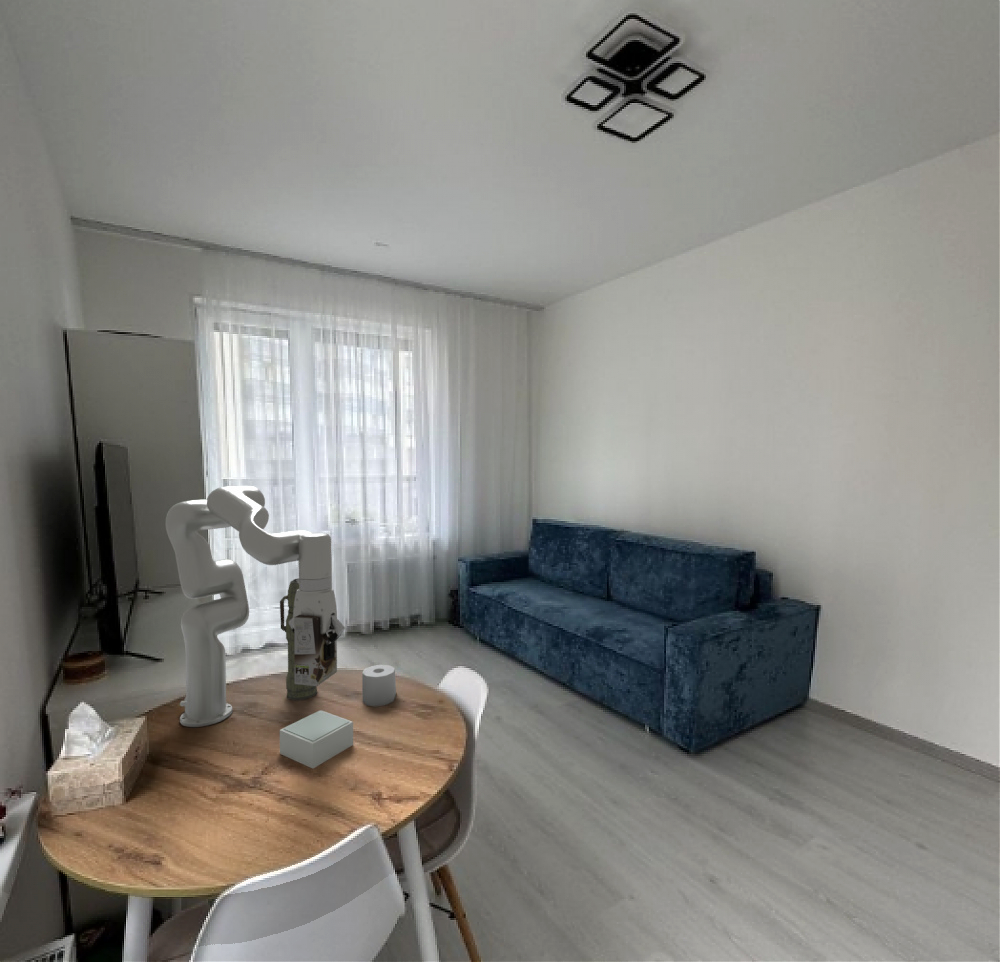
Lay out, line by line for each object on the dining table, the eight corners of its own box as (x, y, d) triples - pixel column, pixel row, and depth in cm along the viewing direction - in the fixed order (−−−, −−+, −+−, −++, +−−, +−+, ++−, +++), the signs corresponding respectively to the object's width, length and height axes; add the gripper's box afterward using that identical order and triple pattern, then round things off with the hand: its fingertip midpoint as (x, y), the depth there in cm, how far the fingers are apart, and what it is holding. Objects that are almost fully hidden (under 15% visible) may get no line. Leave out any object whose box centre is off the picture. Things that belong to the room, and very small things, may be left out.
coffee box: (318, 686, 119) (317, 618, 119) (293, 684, 121) (292, 616, 120) (338, 671, 128) (337, 607, 128) (315, 670, 130) (314, 606, 129)
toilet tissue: (397, 686, 161) (397, 659, 161) (392, 706, 148) (391, 676, 148) (368, 687, 160) (368, 660, 160) (360, 707, 147) (360, 677, 147)
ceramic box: (279, 754, 123) (279, 728, 123) (320, 732, 133) (320, 709, 133) (312, 769, 117) (312, 742, 117) (353, 745, 127) (352, 720, 127)
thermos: (281, 691, 158) (280, 578, 157) (321, 685, 162) (320, 575, 162) (280, 703, 150) (279, 584, 149) (322, 696, 154) (322, 580, 153)
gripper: (276, 584, 124) (277, 657, 124) (334, 590, 118) (335, 667, 118) (298, 578, 131) (299, 647, 131) (354, 583, 124) (355, 656, 125)
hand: (316, 656), depth 124 cm, fingers closed on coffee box, 7 cm apart
